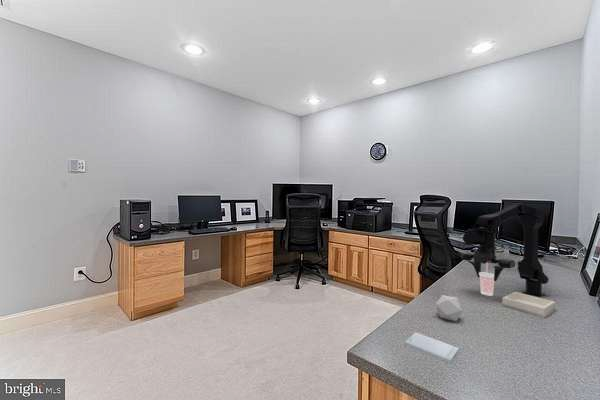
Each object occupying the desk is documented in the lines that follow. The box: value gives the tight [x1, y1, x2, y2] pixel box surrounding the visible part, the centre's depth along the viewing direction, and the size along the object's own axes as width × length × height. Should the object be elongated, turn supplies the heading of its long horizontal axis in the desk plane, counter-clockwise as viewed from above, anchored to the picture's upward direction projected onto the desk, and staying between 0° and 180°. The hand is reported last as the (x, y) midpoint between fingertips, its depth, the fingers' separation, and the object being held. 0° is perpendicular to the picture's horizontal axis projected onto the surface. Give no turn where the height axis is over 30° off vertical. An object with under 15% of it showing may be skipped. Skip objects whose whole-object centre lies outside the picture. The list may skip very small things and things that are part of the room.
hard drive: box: [404, 331, 461, 364], centre depth 77 cm, size 2×8×12 cm
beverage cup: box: [479, 262, 495, 297], centre depth 117 cm, size 6×6×14 cm
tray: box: [502, 291, 556, 319], centre depth 106 cm, size 13×13×4 cm
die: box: [435, 294, 463, 322], centre depth 96 cm, size 8×9×10 cm
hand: (486, 279), depth 117 cm, fingers closed on beverage cup, 6 cm apart
